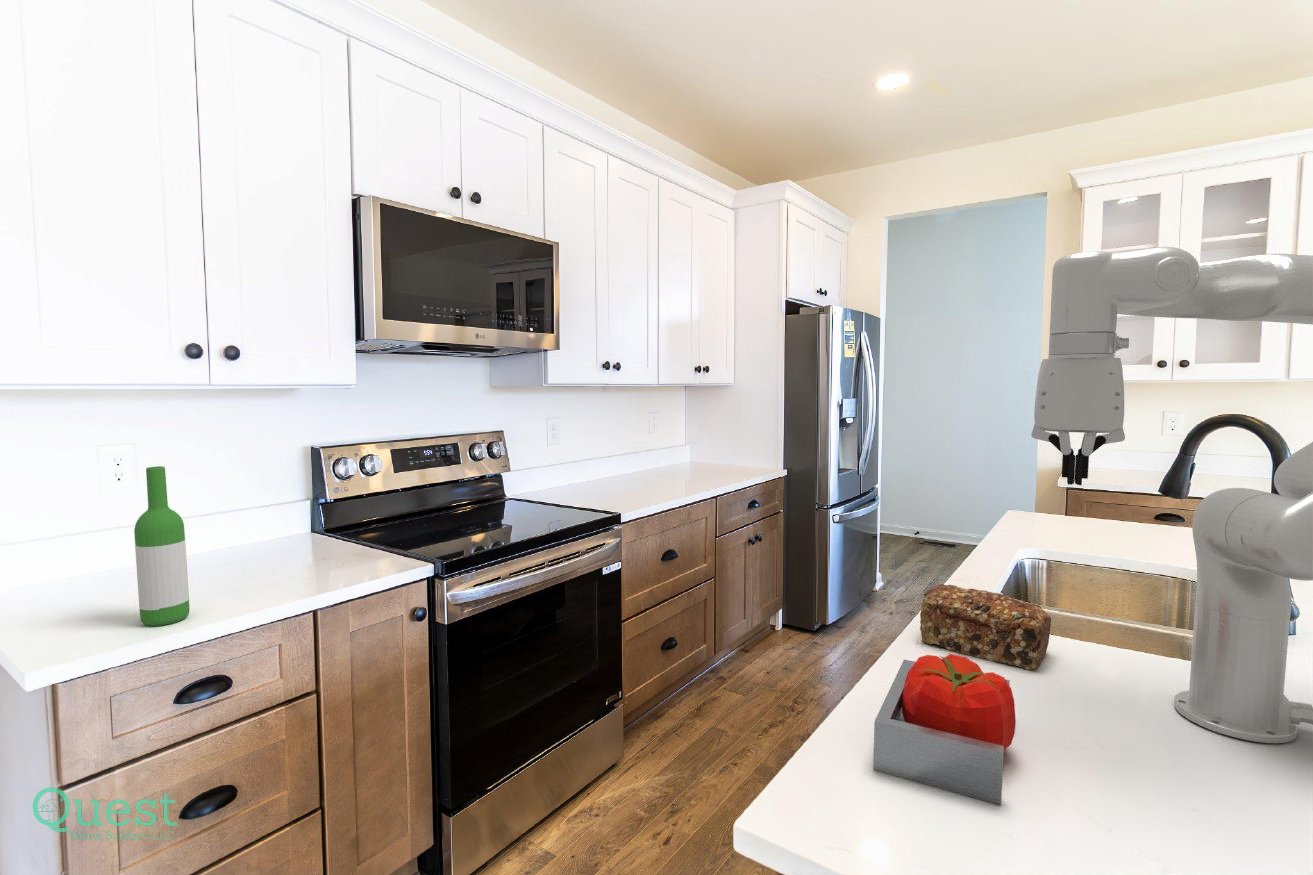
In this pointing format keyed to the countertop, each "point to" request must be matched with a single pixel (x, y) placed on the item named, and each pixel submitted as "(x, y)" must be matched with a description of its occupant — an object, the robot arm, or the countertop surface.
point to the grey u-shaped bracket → (934, 751)
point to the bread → (985, 625)
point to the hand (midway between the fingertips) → (1074, 483)
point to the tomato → (959, 699)
